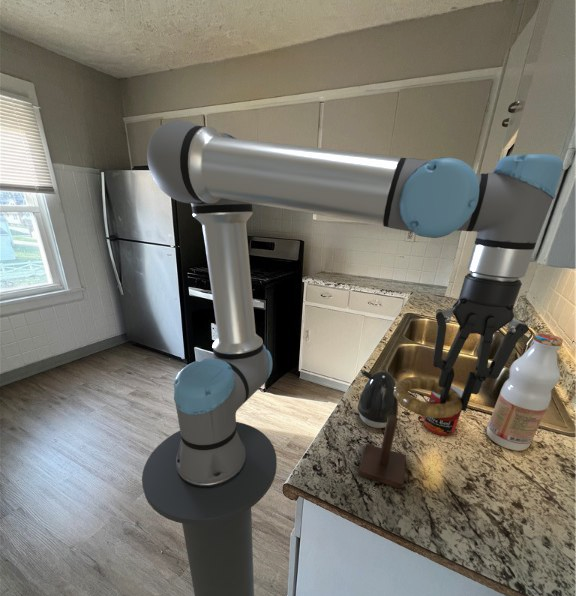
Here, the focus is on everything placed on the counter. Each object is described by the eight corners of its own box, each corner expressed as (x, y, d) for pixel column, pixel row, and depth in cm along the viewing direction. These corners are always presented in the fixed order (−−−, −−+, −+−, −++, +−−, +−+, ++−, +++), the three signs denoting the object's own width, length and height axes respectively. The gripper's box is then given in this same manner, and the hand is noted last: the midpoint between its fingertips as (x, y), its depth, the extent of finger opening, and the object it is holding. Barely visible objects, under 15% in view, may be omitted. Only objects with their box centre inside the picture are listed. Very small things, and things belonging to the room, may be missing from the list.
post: (358, 475, 67) (366, 425, 62) (365, 448, 75) (373, 401, 69) (401, 489, 64) (415, 438, 59) (404, 459, 72) (416, 411, 66)
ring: (389, 410, 56) (392, 398, 55) (395, 379, 66) (397, 369, 65) (462, 428, 52) (466, 416, 51) (457, 393, 62) (460, 382, 61)
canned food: (418, 427, 83) (427, 391, 78) (429, 413, 88) (438, 380, 83) (449, 440, 78) (461, 404, 73) (458, 425, 84) (469, 390, 79)
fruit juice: (477, 433, 81) (513, 332, 69) (499, 423, 85) (536, 326, 73) (515, 456, 74) (563, 349, 62) (536, 444, 78) (586, 341, 66)
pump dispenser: (360, 406, 90) (367, 359, 84) (397, 416, 87) (407, 368, 80) (351, 426, 82) (358, 376, 76) (391, 438, 78) (403, 386, 72)
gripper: (548, 277, 48) (497, 404, 58) (437, 266, 53) (408, 384, 63) (566, 287, 42) (505, 428, 52) (437, 274, 47) (406, 404, 57)
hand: (452, 403), depth 57 cm, fingers closed on ring, 3 cm apart
